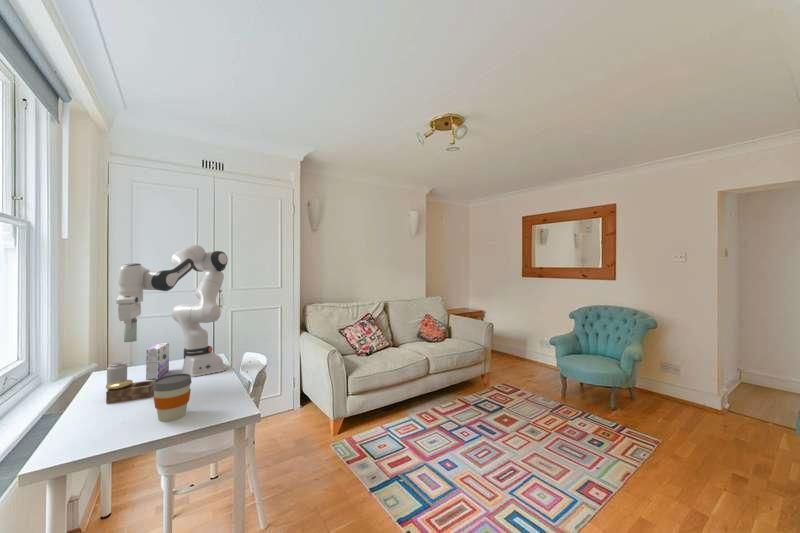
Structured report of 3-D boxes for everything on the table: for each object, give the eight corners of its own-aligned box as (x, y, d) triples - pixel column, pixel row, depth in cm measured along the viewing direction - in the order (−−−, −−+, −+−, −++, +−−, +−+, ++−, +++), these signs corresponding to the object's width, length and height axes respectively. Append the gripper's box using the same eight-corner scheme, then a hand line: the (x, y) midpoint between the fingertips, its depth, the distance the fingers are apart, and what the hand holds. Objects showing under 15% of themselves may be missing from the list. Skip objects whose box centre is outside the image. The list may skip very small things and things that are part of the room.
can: (131, 385, 158) (131, 361, 158) (116, 391, 151) (116, 366, 151) (117, 384, 159) (118, 360, 159) (102, 390, 151) (102, 365, 152)
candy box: (157, 372, 179) (157, 343, 179) (169, 371, 180) (169, 342, 180) (145, 380, 165) (145, 348, 166) (158, 379, 167) (159, 348, 167)
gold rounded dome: (134, 391, 148) (135, 378, 148) (129, 398, 140) (129, 384, 140) (109, 394, 144) (109, 381, 144) (102, 402, 136) (102, 388, 136)
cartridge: (138, 339, 150) (138, 318, 150) (135, 341, 146) (135, 320, 146) (125, 340, 147) (125, 319, 147) (122, 342, 143) (122, 320, 143)
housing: (155, 390, 152) (155, 379, 152) (151, 396, 144) (151, 385, 144) (113, 396, 145) (113, 385, 145) (106, 403, 137) (106, 392, 137)
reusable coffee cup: (185, 406, 134) (185, 371, 134) (195, 415, 126) (196, 377, 126) (148, 417, 124) (148, 379, 125) (157, 427, 116) (157, 386, 117)
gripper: (128, 296, 154) (128, 324, 154) (114, 300, 136) (114, 332, 136) (144, 296, 157) (144, 323, 157) (133, 299, 139) (133, 331, 139)
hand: (130, 327), depth 147 cm, fingers closed on cartridge, 4 cm apart
